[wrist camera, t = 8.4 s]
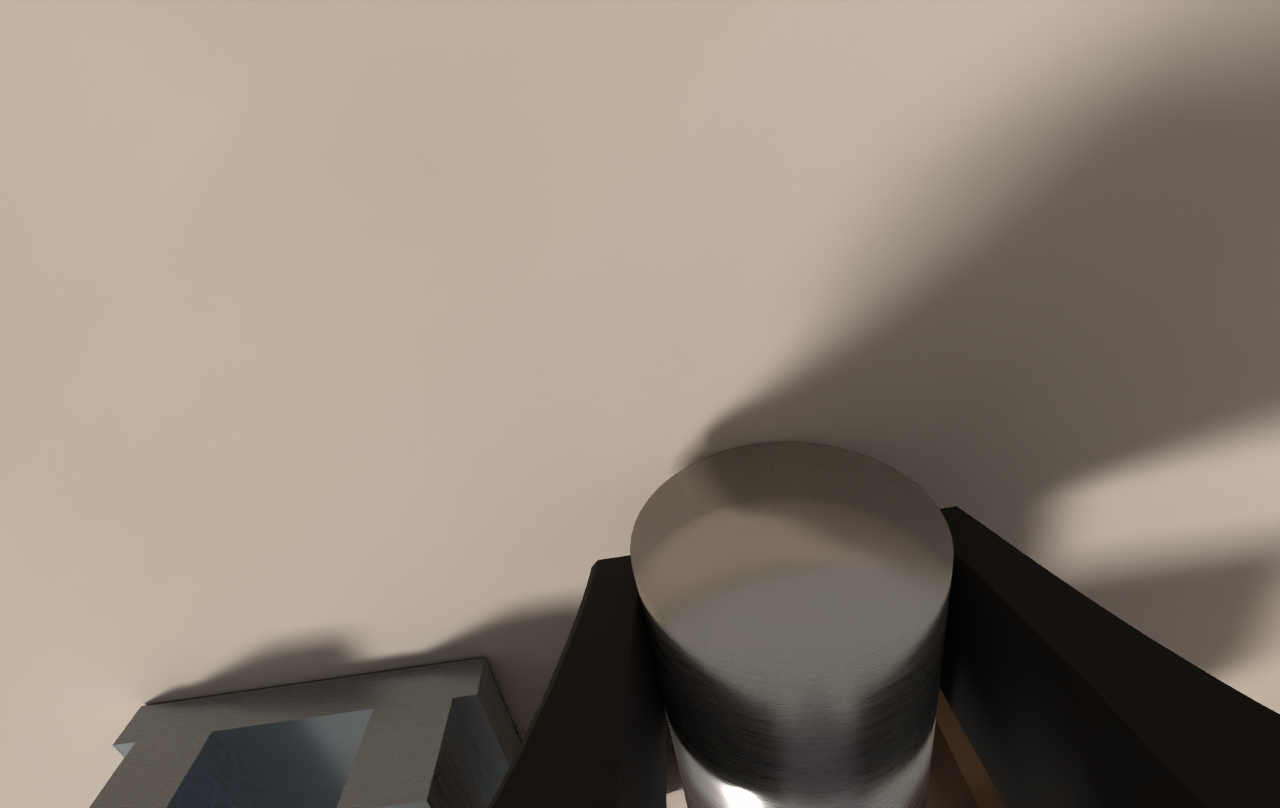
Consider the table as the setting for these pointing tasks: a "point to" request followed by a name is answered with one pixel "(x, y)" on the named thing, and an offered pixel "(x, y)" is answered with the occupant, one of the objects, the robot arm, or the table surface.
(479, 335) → the table surface
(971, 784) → the brown wooden u-shaped block
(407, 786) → the v block
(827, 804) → the grey metal cylinder
